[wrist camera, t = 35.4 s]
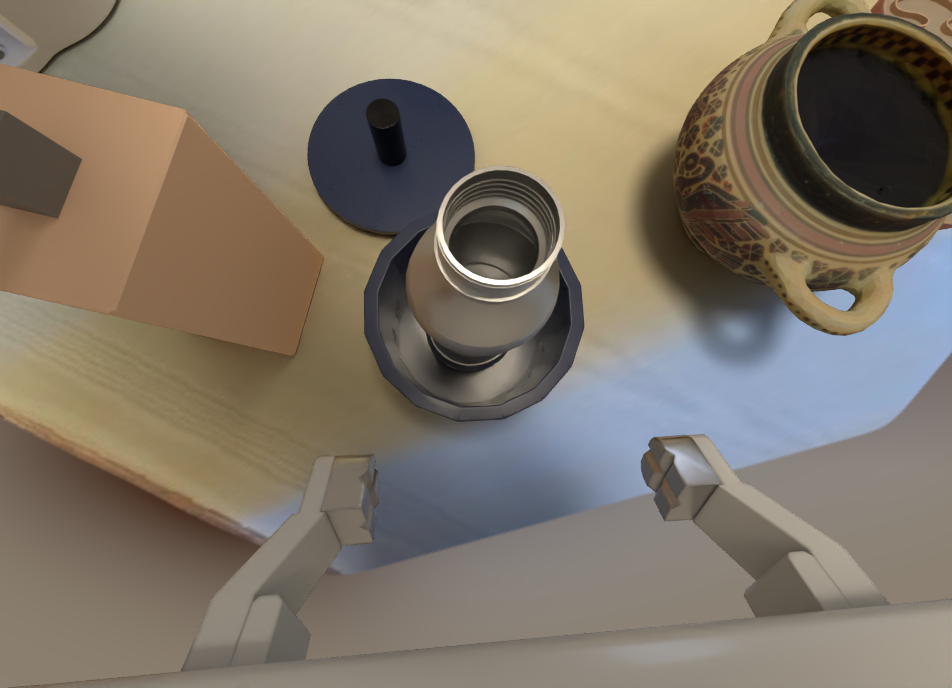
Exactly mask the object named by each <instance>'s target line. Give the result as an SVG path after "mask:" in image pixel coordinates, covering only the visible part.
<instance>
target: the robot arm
mask: <svg viewBox="0 0 952 688" xmlns="http://www.w3.org/2000/svg"><path fill="white" fill-rule="evenodd" d="M115 2H116V0H0V63H1V64H5V65H9V66H13V67H17V68H21V69H25V70H29V71H33V72H37V73H38V72H39V71H40V70H41V69H42V68H43V67H44V66H45V65H46V64H47V63H48V62H49V60H50V59H51V58H52V57H53V56H54V55H55V54H56V53H58V52H59V51H61V50H62V49H64V48H66V47H68V46H70V45H72V44H74V43H76V42H78V41H79V40H81V39H83V38H84V37H86V36H87V35H89V34H90V33H91V32H92V31H94V30H95V29H96V28H97V27H98V26H99V25H100V24H101V23H102V22H103V21H104V20H105V18H106V17H107V16H108V14H109V13H110V12H111V10H112V8H113V6H114V4H115ZM648 446H649V448H650V450H649V451H647V452H646V453H645V454H644V455H643V457H642V460H641V471H642V475H643V478H644V480H645V482H646V484H647V486H648V487H650V488H651V489H652V490H653V491H655V496H654V501H655V503H656V505H657V507H658V509H659V511H660V513H661V515H662V517H663V519H664V521H679V520H693V522H694V523H695V524H696V525H697V526H698V527H699V528H700V529H701V530H702V531H703V532H705V533H706V534H707V535H708V536H709V537H710V538H711V539H712V540H713V541H714V542H715V543H716V544H717V545H719V546H720V547H721V548H722V549H723V550H724V551H725V552H726V553H727V554H728V555H729V556H730V557H732V558H733V559H734V560H735V561H736V562H737V563H738V564H739V565H740V566H741V567H742V568H743V569H744V570H746V571H747V572H748V573H749V574H750V575H751V576H752V577H753V578H754V579H755V580H756V581H755V582H754V583H753V584H752V585H751V586H750V587H748V589H746V591H745V593H744V597H745V599H746V600H747V602H748V604H749V606H750V608H751V609H752V611H753V613H754V615H755V618H746V619H745V618H744V619H734V620H723V621H713V622H702V623H693V624H692V623H691V624H681V625H671V626H660V627H649V628H640V629H639V628H638V629H628V630H617V631H607V632H596V633H586V634H575V635H565V636H554V637H543V638H532V639H522V640H511V641H501V642H490V643H481V644H480V643H479V644H469V645H458V646H448V647H437V648H426V649H416V650H405V651H394V652H384V653H373V654H363V655H353V656H341V657H331V658H320V659H310V660H305V659H306V654H307V649H308V645H309V640H310V633H309V631H308V630H307V628H306V627H305V626H304V625H303V624H302V622H301V621H300V620H299V619H298V617H297V616H296V614H297V612H298V611H299V609H300V608H301V606H302V605H303V603H304V602H305V600H306V599H307V598H308V596H309V595H310V593H311V592H312V590H313V589H314V588H315V586H316V585H317V583H318V582H319V580H320V579H321V577H322V576H323V575H324V573H325V572H326V570H327V569H328V567H329V566H330V565H331V563H332V562H333V560H334V559H335V557H336V556H337V554H338V553H339V552H340V550H341V549H342V547H341V546H348V545H357V544H367V543H373V540H374V533H375V526H376V516H375V512H374V508H375V507H376V506H377V505H378V504H379V496H380V478H379V472H378V470H376V469H375V462H376V461H375V457H374V454H368V455H345V456H322V457H317V459H316V460H315V462H314V464H313V467H312V471H311V474H310V477H309V480H308V484H307V487H306V490H305V493H304V496H303V500H302V503H301V506H300V509H299V512H298V514H292V515H291V516H290V517H289V518H288V519H287V520H286V521H285V522H284V524H283V525H282V526H281V527H280V528H279V529H278V530H277V531H276V532H275V533H274V534H273V535H272V536H271V537H270V538H269V539H268V540H267V541H266V542H265V543H264V544H263V545H262V546H261V547H260V549H258V550H257V552H256V553H255V554H254V555H253V556H252V557H251V558H250V559H249V560H248V561H247V562H246V563H245V564H244V565H243V566H242V567H241V568H240V569H239V570H238V571H237V572H236V573H235V574H234V576H232V578H230V580H229V581H228V582H227V583H226V584H225V585H224V586H223V587H222V588H221V589H220V590H219V591H218V592H217V593H216V594H215V595H214V596H213V597H212V599H211V601H210V604H209V606H208V608H207V611H206V613H205V615H204V618H203V620H202V622H201V625H200V627H199V630H198V632H197V634H196V637H195V639H194V641H193V644H192V646H191V648H190V651H189V653H188V655H187V658H186V660H185V663H184V665H183V667H182V670H181V672H172V673H161V674H150V675H141V676H129V677H119V678H108V679H98V680H88V681H77V682H67V683H57V684H45V685H34V686H21V687H10V688H952V599H946V600H936V601H925V602H914V603H903V604H894V605H891V604H890V603H889V602H888V601H887V599H886V598H885V597H884V596H883V595H882V593H881V592H880V591H879V590H878V589H877V587H876V586H875V585H874V584H873V582H872V581H871V580H870V579H869V578H868V576H867V575H866V574H865V573H864V571H863V570H862V569H861V568H860V567H859V565H858V564H857V563H856V562H855V561H854V559H853V558H852V557H851V556H850V554H849V553H848V552H847V551H846V550H845V548H844V547H843V546H841V545H840V544H838V543H837V542H835V541H834V540H832V539H831V538H829V537H828V536H826V535H825V534H823V533H822V532H820V531H819V530H817V529H816V528H814V527H813V526H811V525H810V524H808V523H807V522H805V521H803V520H802V519H800V518H799V517H797V516H796V515H794V514H793V513H791V512H790V511H788V510H787V509H785V508H784V507H782V506H781V505H779V504H778V503H776V502H775V501H773V500H772V499H770V498H769V497H767V496H766V495H764V494H762V493H761V492H760V491H758V490H757V489H755V488H753V487H752V486H750V485H749V484H747V483H741V481H740V480H739V479H738V477H737V476H736V474H735V473H734V472H733V470H732V469H731V467H730V466H729V465H728V463H727V462H726V460H725V459H724V458H723V456H722V455H721V454H720V452H719V451H718V449H717V448H716V447H715V445H714V444H713V442H712V441H711V440H710V438H709V437H708V436H706V435H705V434H697V435H676V436H663V437H654V438H652V439H651V440H650V442H649V444H648Z"/></svg>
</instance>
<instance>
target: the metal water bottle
mask: <svg viewBox="0 0 952 688" xmlns="http://www.w3.org/2000/svg"><path fill="white" fill-rule="evenodd" d="M564 231H565V220H564V215H563V210H562V207H561V205H560V202H559V200H558V198H557V196H556V195H555V193H554V192H553V191H552V189H551V188H550V187H549V186H548V185H547V184H546V183H545V182H544V181H543V180H542V179H540V178H539V177H537V176H535V175H534V174H532V173H530V172H528V171H525V170H523V169H520V168H515V167H510V166H492V167H486V168H482V169H479V170H477V171H474V172H472V173H470V174H468V175H466V176H465V177H463V178H462V179H460V180H459V181H458V182H457V183H456V184H455V185H454V186H453V187H452V188H451V189H450V191H449V192H448V193H447V195H446V196H445V198H444V200H443V203H442V205H441V207H440V210H439V214H438V218H437V221H436V222H435V223H434V224H433V225H432V226H431V227H430V228H429V229H428V230H427V231H426V232H425V234H424V235H423V236H422V238H421V239H420V240H419V242H418V244H417V245H416V247H415V249H414V251H413V254H412V256H411V258H410V260H409V264H408V268H407V272H406V293H407V299H408V303H409V306H410V308H411V311H412V313H413V316H414V317H415V319H416V320H417V322H418V323H419V325H420V326H421V328H422V329H423V330H424V331H425V332H426V336H427V341H428V344H429V346H430V349H431V350H432V352H433V353H434V355H435V356H436V357H437V358H438V359H439V360H440V361H441V362H442V363H444V364H445V365H447V366H448V367H450V368H453V369H456V370H459V371H465V372H475V371H480V370H484V369H486V368H489V367H491V366H493V365H494V364H496V363H497V362H499V361H500V360H501V359H502V358H503V357H504V356H505V355H506V353H507V352H508V351H509V350H512V349H514V348H517V347H519V346H521V345H522V344H524V343H525V342H527V341H528V340H530V339H531V338H533V337H534V336H535V335H536V334H537V333H538V332H539V331H540V330H541V329H542V328H543V326H544V325H545V323H546V322H547V320H548V319H549V317H550V316H551V314H552V312H553V309H554V307H555V304H556V302H557V297H558V292H559V264H558V260H557V255H558V252H559V250H560V248H561V245H562V242H563V237H564Z"/></svg>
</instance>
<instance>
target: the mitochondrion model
mask: <svg viewBox="0 0 952 688" xmlns="http://www.w3.org/2000/svg"><path fill="white" fill-rule="evenodd" d="M871 12H872V13H874V14H885V15H890V16H894V17H898V18H900V19H903V20H905V21H908V22H911V23H913V24H916V25H918V26H921V27H923V28H924V29H926V30H928V31H930V32H931V33H933V34H935V35H937V36H938V37H940V38H941V39H942V40H943V41H945V42H946V43H947V44H948V45H949V46H951V47H952V0H879V1H878V2H877V3H876V4H875V5H874V6H873V8H872V9H871ZM948 228H952V213H951V214H949V215H948V216H947V217H946V219H945V221H944V223H943V224H942V226H941V227H940V228H939V229H938V230H942V229H948Z"/></svg>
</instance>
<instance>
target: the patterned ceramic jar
mask: <svg viewBox="0 0 952 688" xmlns="http://www.w3.org/2000/svg"><path fill="white" fill-rule="evenodd" d="M819 12H823V13H825V14H828V15H829V16H831V17H832V18H829V19H827V20H825V21H823V22H821V23H819V24H817V25H816V26H815V27H813V28H812V29H811V30H809V31H808V30H807V27H806V23H807V21H808V19H809V18H810V17H811V16H813V15H814V14H816V13H819ZM673 181H674V192H675V196H676V200H677V204H678V208H679V213H680V218H681V222H682V224H683V226H684V229H685V231H686V234H687V236H688V237H689V238H690V239H691V241H692V242H693V243H694V244H695V246H696V247H697V248H698V250H700V251H702V252H703V253H705V254H706V255H708V256H709V257H711V258H712V259H714V260H716V261H717V262H719V263H720V264H722V265H723V266H724V267H726V268H728V269H729V270H731V271H733V272H735V273H736V274H738V275H740V276H741V277H743V278H745V279H747V280H750V281H753V282H756V283H759V284H762V285H766V286H770V287H773V289H774V291H775V292H776V293H777V295H778V296H779V297H780V299H781V300H782V301H783V303H784V304H785V305H786V306H787V308H788V309H789V310H790V311H791V312H792V313H793V314H794V315H795V316H796V317H797V318H798V319H799V320H801V321H803V322H804V323H806V324H807V325H809V326H811V327H812V328H814V329H816V330H819V331H822V332H824V333H828V334H831V335H843V336H846V335H850V334H854V333H858V332H861V331H863V330H865V329H866V328H868V327H869V326H871V325H872V324H873V323H874V322H876V321H877V320H878V319H879V318H880V317H881V316H882V315H883V313H884V312H885V310H886V308H887V307H888V305H889V303H890V301H891V299H892V294H893V279H892V276H893V274H894V271H895V270H896V269H897V268H899V267H900V266H902V265H903V264H905V263H906V262H907V261H909V260H910V259H911V258H912V257H913V256H914V255H915V254H917V253H918V252H919V251H920V250H921V249H922V248H923V247H925V246H926V245H927V244H928V242H929V241H930V240H931V239H932V237H933V236H934V235H935V233H936V232H937V231H938V229H939V228H940V227H941V226H942V224H943V223H944V221H945V219H946V217H947V216H948V215H949V214H951V213H952V47H951V46H949V45H948V44H947V43H946V42H945V41H943V40H942V39H941V38H940V37H938V36H937V35H935V34H933V33H931V32H930V31H928V30H926V29H924V28H923V27H921V26H918V25H916V24H913V23H911V22H908V21H905V20H903V19H900V18H898V17H894V16H890V15H885V14H874V13H872V12H871V11H870V9H869V8H868V6H867V5H866V3H865V2H864V0H795V1H794V2H792V3H791V4H790V6H789V7H788V8H787V9H786V10H785V11H784V12H783V13H782V15H781V17H780V18H779V20H778V22H777V24H776V26H775V28H774V30H773V32H772V33H771V35H770V37H769V39H768V40H767V41H766V42H765V43H764V44H762V45H760V46H758V47H756V48H754V49H752V50H751V51H749V52H747V53H745V54H744V55H742V56H741V57H739V58H738V59H736V60H735V61H734V62H732V63H731V64H730V65H728V66H727V67H726V68H725V69H724V70H722V71H721V72H720V73H719V74H718V75H717V76H716V77H715V78H714V79H713V80H712V81H711V82H710V83H709V85H708V86H707V87H706V88H705V89H704V90H703V92H702V93H701V94H700V96H699V97H698V99H697V100H696V102H695V103H694V104H693V106H692V108H691V109H690V111H689V113H688V115H687V117H686V120H685V122H684V124H683V127H682V129H681V132H680V135H679V138H678V141H677V145H676V150H675V155H674V160H673ZM835 289H843V290H846V291H848V292H849V293H851V294H852V295H854V296H855V302H854V303H853V305H852V306H851V308H850V309H849V310H848V311H840V310H837V309H835V308H833V307H831V306H829V305H827V304H825V303H823V302H822V301H820V300H819V299H818V298H817V297H816V296H815V295H814V294H813V293H812V292H814V291H827V290H835Z"/></svg>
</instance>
